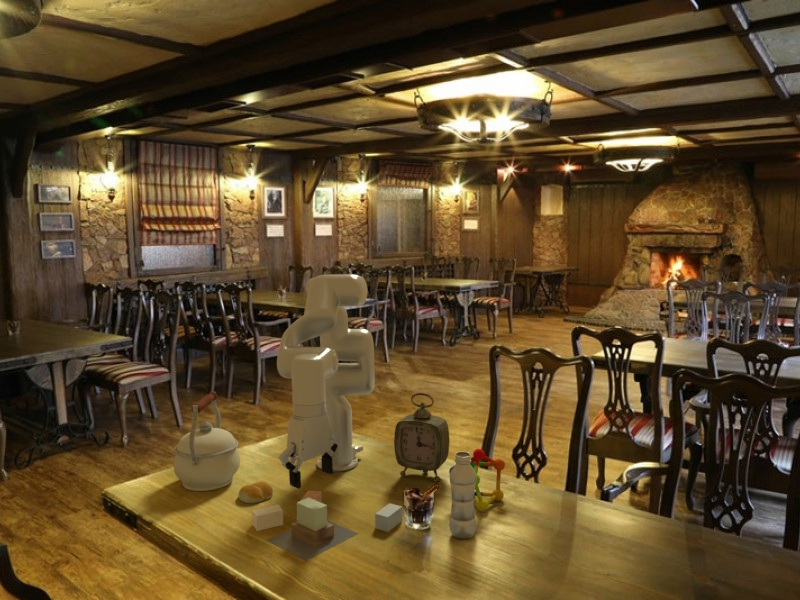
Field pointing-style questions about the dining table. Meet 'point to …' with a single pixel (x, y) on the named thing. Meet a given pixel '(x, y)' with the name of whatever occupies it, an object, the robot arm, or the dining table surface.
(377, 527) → the grey block
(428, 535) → the dining table surface
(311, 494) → the brick terracotta
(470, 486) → the plastic bottle
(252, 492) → the bread roll
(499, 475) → the educational toy
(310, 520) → the brick sage
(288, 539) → the slate board
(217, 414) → the kettle
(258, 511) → the brick cream
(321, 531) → the brick walnut
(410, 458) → the tabletop clock
